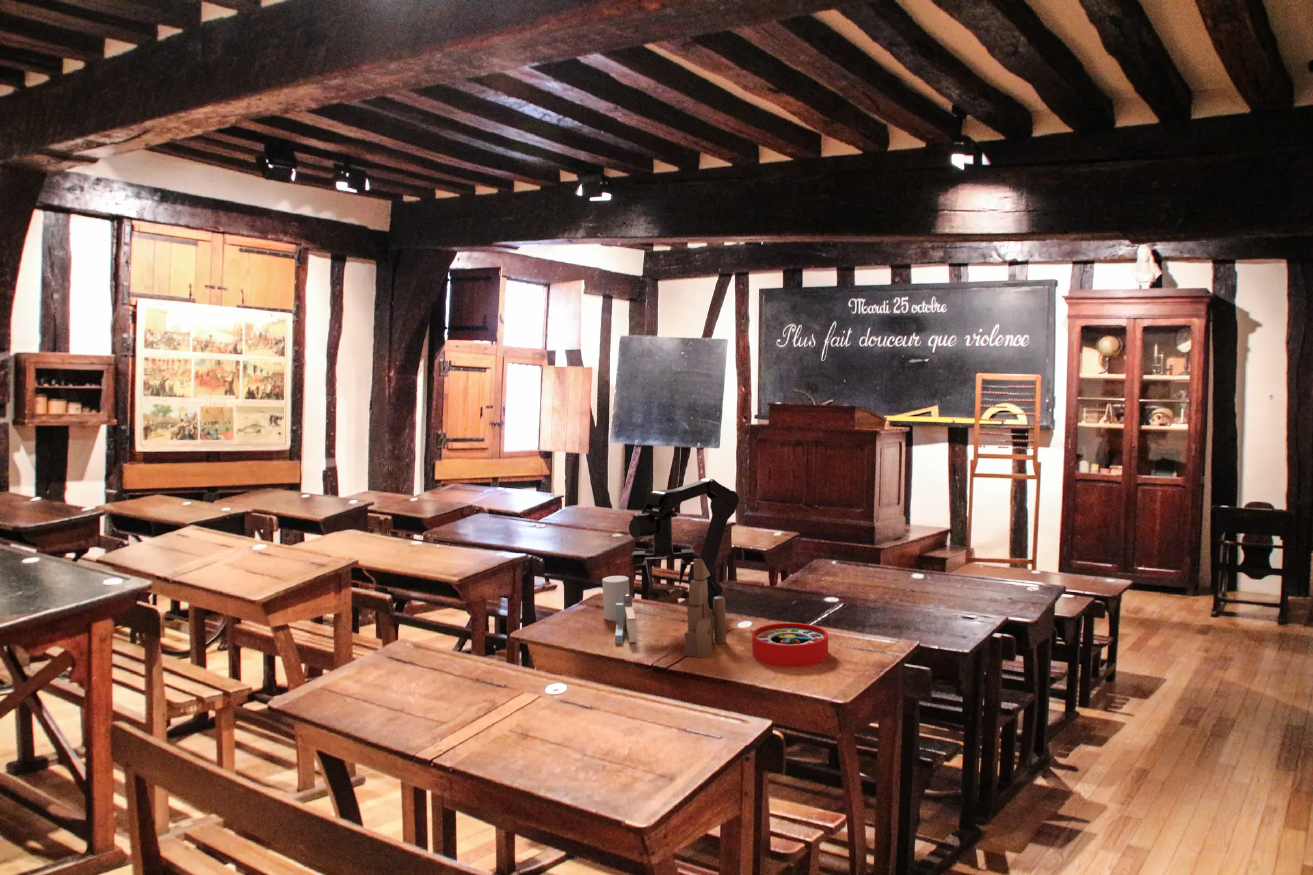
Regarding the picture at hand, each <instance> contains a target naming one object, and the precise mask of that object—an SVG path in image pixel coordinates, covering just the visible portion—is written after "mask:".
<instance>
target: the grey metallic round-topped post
mask: <svg viewBox="0 0 1313 875" xmlns="http://www.w3.org/2000/svg"><path fill="white" fill-rule="evenodd" d="M623 601H624V617H625V620H624V631H627V629H626V612H625V606H632V607H633V596H632V595H631V594H629V595H625V596H624V598H623Z"/></svg>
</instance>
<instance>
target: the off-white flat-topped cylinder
mask: <svg viewBox="0 0 1313 875" xmlns="http://www.w3.org/2000/svg"><path fill="white" fill-rule="evenodd" d="M601 580H602V581H601V582H602V604H603V619H604V620H606V619H607V621H610V622H611V621H613V622H617V618H616V603H623V614H624V601H623V598H624V596H625V595H630V578H629V577H628V576H625V575H610V576H606V577H603V578H602V579H601ZM624 621H625V617H624Z"/></svg>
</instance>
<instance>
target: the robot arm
mask: <svg viewBox="0 0 1313 875" xmlns="http://www.w3.org/2000/svg"><path fill="white" fill-rule="evenodd" d="M703 495H705V496H706V497H707V498H708V499H709V500H710V511H711V520H710V523H709V526H708V528H707V531H706V532H707V533H706V535H705V540H704V543H703V546H702V548H701V549H702V550H701V554H700V557H699V559H702V560H703V562H704V564H705V566H706V568H707V570H708V571H709V573H710V576H709V577H707V588H708V605H709V608H710V609H711V610H712V611H713V617H714V608H713V598H714V597H717V596H722V594H723V591H724V588H723V587H722V586H721V585H720V584H719V582H717V576H718V574H717V567H716V562H717V558H718V555H719V552H720V548H721V545H722V541H723V537H724V534H725V530H726V527H727V523H728V520H729V519H730V518H731V517H732V516H733V515H734V514H735V512H736V509H737V508H738V506H739V503H740V497H739V495H738V493H737V491H735V490H731V489H730V488H728V487H726V486H724V485H723V484H720V483H719V482H717V481H716V480H715V479H713V478H706V477H704V478H702V479H700V480H697V481H695V482H691V483H688V484H685V485H682V486H680V487H676V488H673V489H672V488H671V489H658V490H653V491H651V492H650V493H649V496H648V499H647V501H646V503H645V505H644V507H643V509H642V511H641V513H640V514H632V519H631V520H630V521H629V524H628V531H629V534H630V536H631V537H632V538H633V539H640V538H646V537H647V538H648V537H649V538H648V550H652V551H653V553H646V550H634V551H632V553H631V564H632V565H636V568H640V570H641V572H642V573H643V576H644V579H645V581H646V583H647V586H648V587H651V585H650V576H649V569H648V562H647V561H663V560H665V561H667V560H680V562H679V563H680V566H679V576H678V584H679V585H678V586H680V585H681V584H682V581H683V578H684V574H685V572H686V570H687V568H688V566H689V570H688V573H687V575H686V576H687V583H688V586H690V582H691V581H692V580H694V565H693V560H694V559H696V552H695V550H694V549H692V548H689V549H688V548H687V549H685V548H684V549H681V552H674V546H673V521H672V520H673V518H676V517H678V514H677V513H676V512H675V511H674V509H676V508H677V507H678V506H679V505H680V504H681V503H683V502H686V501H688V500H691V499H695V498H698V497H700V496H703ZM651 536H652V537H651Z"/></svg>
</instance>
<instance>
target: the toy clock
mask: <svg viewBox="0 0 1313 875" xmlns="http://www.w3.org/2000/svg"><path fill="white" fill-rule="evenodd" d="M751 639H752V640H751V643H752V657H753V658H754V660H756V661H757V662H758V663H762V664H765V665H769V666H772V667H773V666H775V667H780V668H782V667H783V668H800V667H809V665H810V666H813V665H817V663H818V664H820V663H819V662H821V663H822V661H823V660H824V661H826V660H827V659H828V658H829V633H828V631H827V630H825V629H824V628H822V627H819V626H817V625H813V624H806V623H799V622H798V623H796V622H782V623H781V622H780V623H772V624H768V625H767V624H766V625H763V626H760V627H757V628H755V629H754V630H753V631H752V633H751ZM827 657H828V658H827ZM826 658H827V659H826ZM825 659H826V660H825ZM824 661H823V662H824Z"/></svg>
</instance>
